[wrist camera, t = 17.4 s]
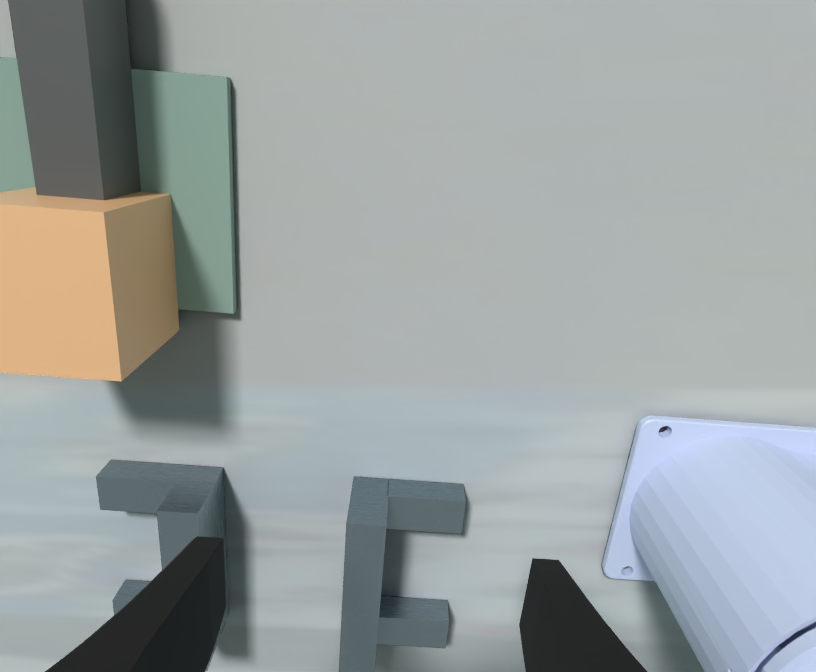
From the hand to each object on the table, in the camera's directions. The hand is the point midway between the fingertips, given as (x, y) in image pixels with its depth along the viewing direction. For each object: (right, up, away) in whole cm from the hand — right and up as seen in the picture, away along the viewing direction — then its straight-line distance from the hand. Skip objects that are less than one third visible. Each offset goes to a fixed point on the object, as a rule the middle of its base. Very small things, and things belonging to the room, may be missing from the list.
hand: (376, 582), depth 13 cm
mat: (-9, +11, +7) cm, 16 cm away
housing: (-5, -4, +12) cm, 13 cm away
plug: (-9, +12, +6) cm, 16 cm away
